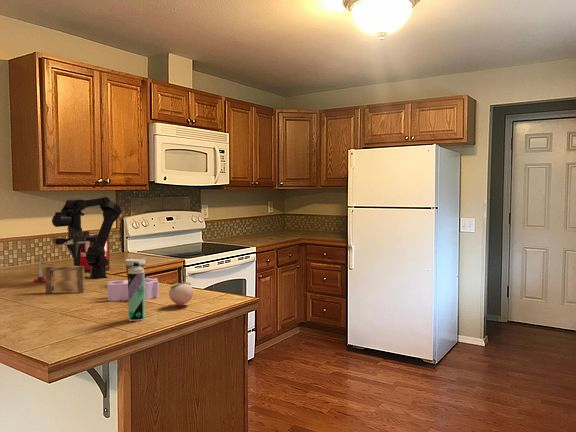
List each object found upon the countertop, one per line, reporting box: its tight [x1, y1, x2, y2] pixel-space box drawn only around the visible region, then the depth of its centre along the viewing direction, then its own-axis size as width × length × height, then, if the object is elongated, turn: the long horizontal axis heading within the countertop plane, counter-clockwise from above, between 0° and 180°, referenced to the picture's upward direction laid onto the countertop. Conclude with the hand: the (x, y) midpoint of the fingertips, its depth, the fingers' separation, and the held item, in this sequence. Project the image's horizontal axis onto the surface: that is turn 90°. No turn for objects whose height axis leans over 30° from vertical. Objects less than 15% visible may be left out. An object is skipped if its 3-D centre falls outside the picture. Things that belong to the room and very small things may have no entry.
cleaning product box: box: [72, 233, 110, 273], centre depth 257 cm, size 16×9×20 cm, turn 68°
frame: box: [44, 265, 86, 294], centre depth 203 cm, size 16×2×11 cm, turn 93°
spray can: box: [127, 262, 146, 322], centre depth 161 cm, size 6×6×20 cm
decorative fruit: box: [168, 280, 194, 306], centre depth 180 cm, size 9×8×10 cm
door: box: [52, 270, 78, 293], centre depth 203 cm, size 11×2×10 cm, turn 94°
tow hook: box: [33, 255, 54, 283], centre depth 230 cm, size 8×13×9 cm
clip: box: [106, 277, 160, 302], centre depth 194 cm, size 20×12×7 cm, turn 110°
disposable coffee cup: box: [124, 257, 146, 280], centre depth 219 cm, size 10×10×12 cm
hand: (75, 257), depth 224 cm, fingers closed
